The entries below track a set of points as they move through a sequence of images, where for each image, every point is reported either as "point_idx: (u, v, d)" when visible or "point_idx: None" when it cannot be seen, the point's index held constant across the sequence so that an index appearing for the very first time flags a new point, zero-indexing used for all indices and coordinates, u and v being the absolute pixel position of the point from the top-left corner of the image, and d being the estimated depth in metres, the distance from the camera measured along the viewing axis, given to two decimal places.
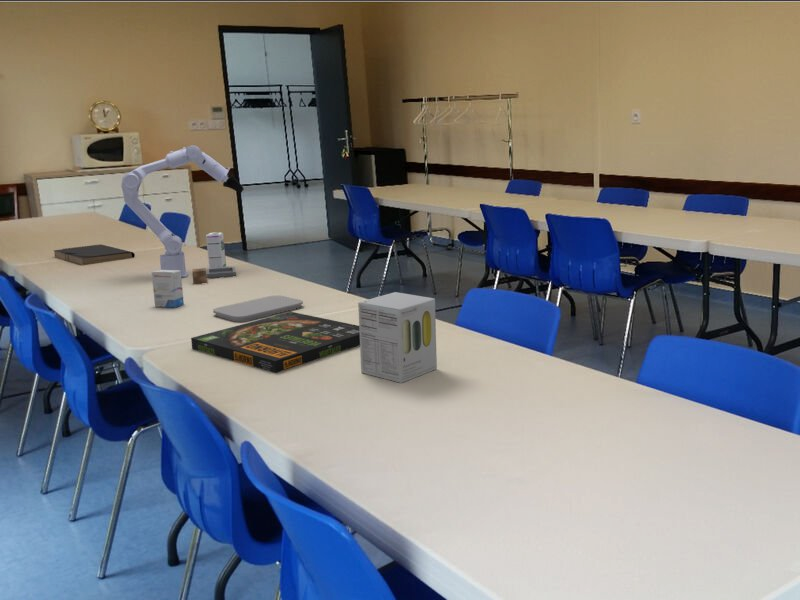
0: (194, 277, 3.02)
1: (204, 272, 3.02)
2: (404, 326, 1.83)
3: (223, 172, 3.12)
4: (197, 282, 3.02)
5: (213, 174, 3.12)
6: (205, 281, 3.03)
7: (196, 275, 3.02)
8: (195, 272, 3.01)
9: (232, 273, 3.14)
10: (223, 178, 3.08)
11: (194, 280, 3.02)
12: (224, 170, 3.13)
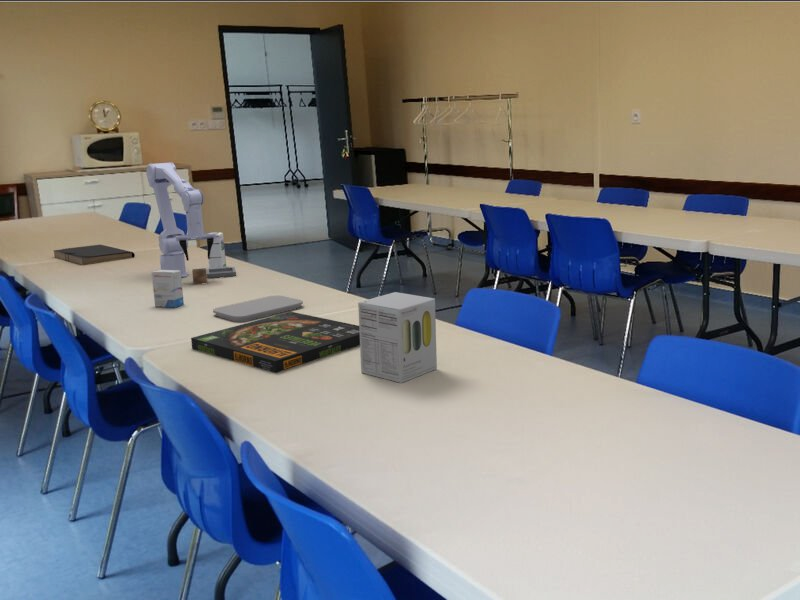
0: (194, 277, 3.02)
1: (204, 272, 3.02)
2: (404, 326, 1.83)
3: (188, 234, 2.99)
4: (197, 282, 3.02)
5: None
6: (205, 281, 3.03)
7: (196, 275, 3.02)
8: (195, 272, 3.01)
9: (232, 273, 3.14)
10: (175, 237, 3.00)
11: (194, 280, 3.02)
12: (190, 234, 2.98)
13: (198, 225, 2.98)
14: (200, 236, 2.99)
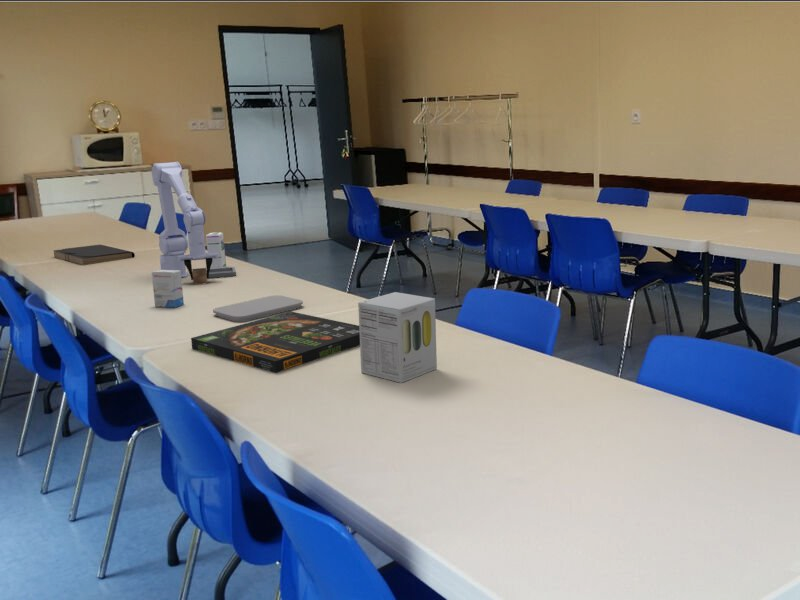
0: (194, 277, 3.02)
1: (204, 272, 3.02)
2: (404, 326, 1.83)
3: (190, 254, 3.01)
4: (197, 282, 3.02)
5: None
6: (205, 281, 3.03)
7: (196, 275, 3.02)
8: (195, 272, 3.01)
9: (232, 273, 3.14)
10: (177, 257, 3.01)
11: (194, 280, 3.02)
12: (192, 254, 3.00)
13: (200, 245, 3.00)
14: (202, 256, 3.01)
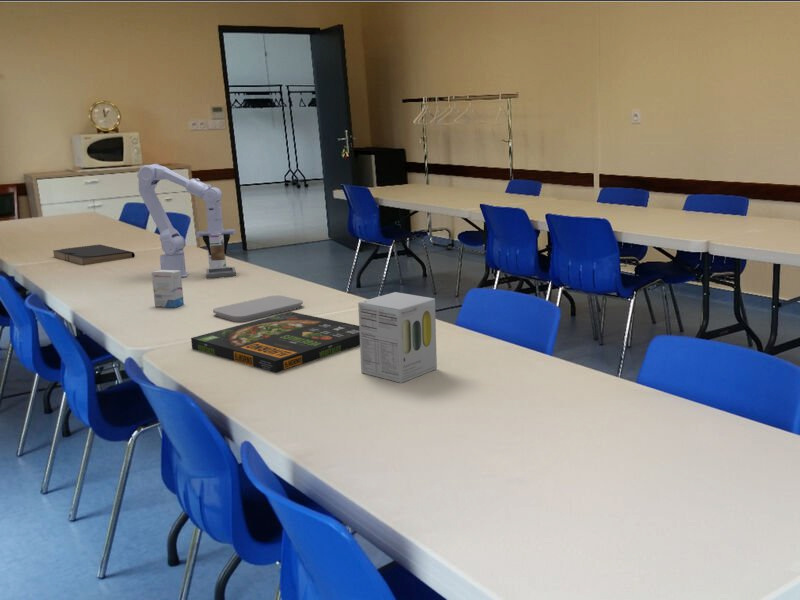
0: (212, 253, 3.12)
1: (222, 248, 3.12)
2: (404, 326, 1.83)
3: (208, 230, 3.11)
4: (215, 258, 3.12)
5: None
6: (222, 257, 3.13)
7: (214, 251, 3.12)
8: (213, 248, 3.12)
9: (232, 273, 3.14)
10: None
11: (212, 256, 3.12)
12: (210, 230, 3.11)
13: (218, 221, 3.10)
14: (220, 232, 3.11)
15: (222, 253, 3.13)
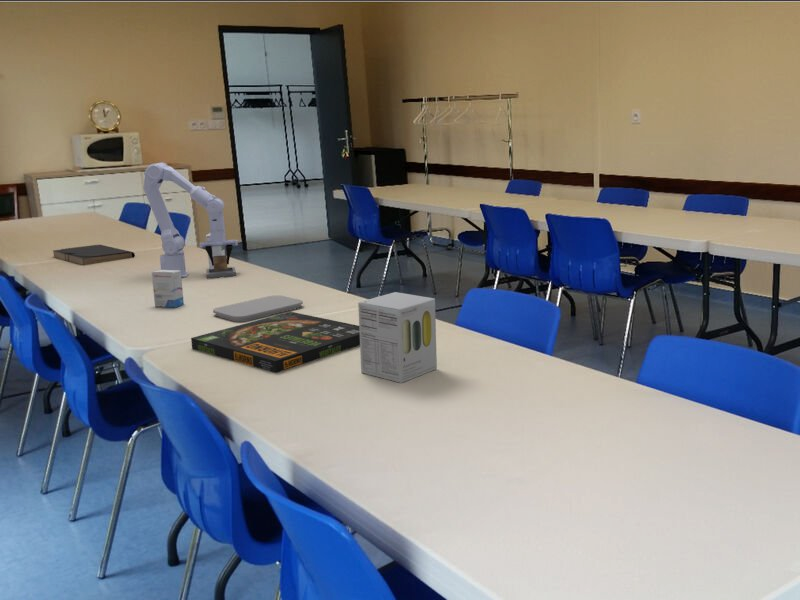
0: (215, 264, 3.14)
1: (224, 259, 3.14)
2: (404, 326, 1.83)
3: (211, 240, 3.13)
4: (218, 268, 3.15)
5: None
6: (225, 268, 3.15)
7: (217, 262, 3.14)
8: (216, 259, 3.14)
9: (232, 273, 3.14)
10: (199, 243, 3.14)
11: (215, 266, 3.14)
12: (213, 240, 3.13)
13: (221, 232, 3.12)
14: (222, 242, 3.13)
15: (225, 263, 3.15)
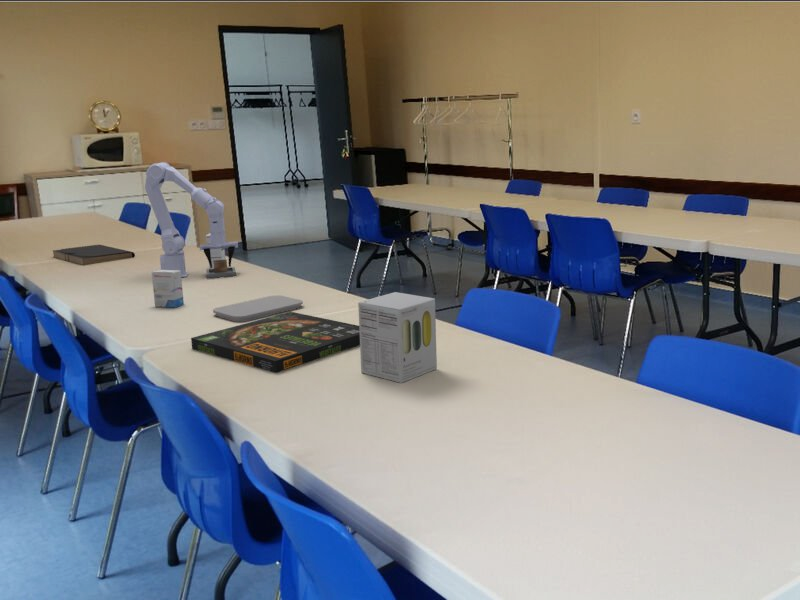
0: (215, 268, 3.14)
1: (225, 263, 3.15)
2: (404, 326, 1.83)
3: (211, 243, 3.14)
4: None
5: None
6: None
7: (217, 266, 3.14)
8: (216, 263, 3.14)
9: (232, 273, 3.14)
10: None
11: (215, 271, 3.15)
12: (213, 243, 3.13)
13: (221, 234, 3.12)
14: (223, 245, 3.13)
15: (225, 268, 3.15)
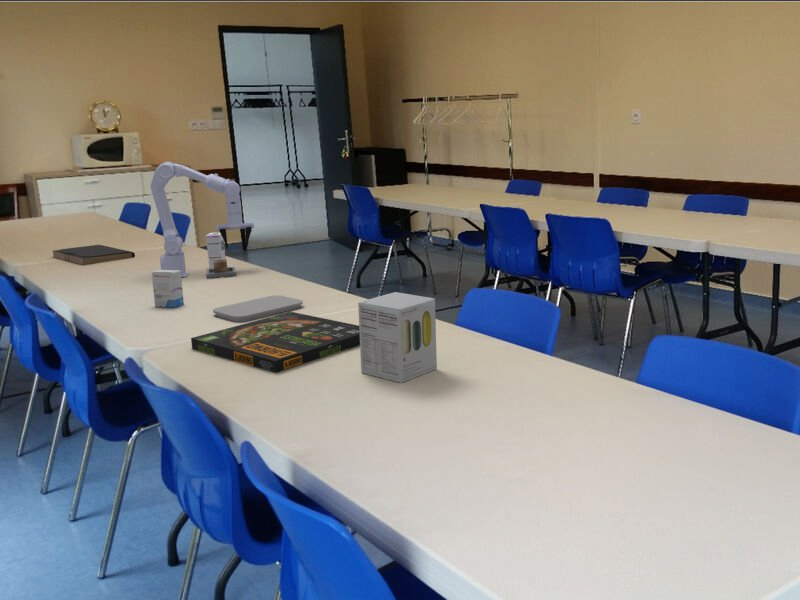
0: (215, 268, 3.14)
1: (225, 263, 3.15)
2: (404, 326, 1.83)
3: (228, 223, 3.16)
4: None
5: None
6: None
7: (217, 266, 3.14)
8: (216, 263, 3.14)
9: (232, 273, 3.14)
10: (216, 226, 3.17)
11: (215, 271, 3.15)
12: (230, 223, 3.16)
13: (237, 215, 3.15)
14: (239, 225, 3.16)
15: (225, 268, 3.15)
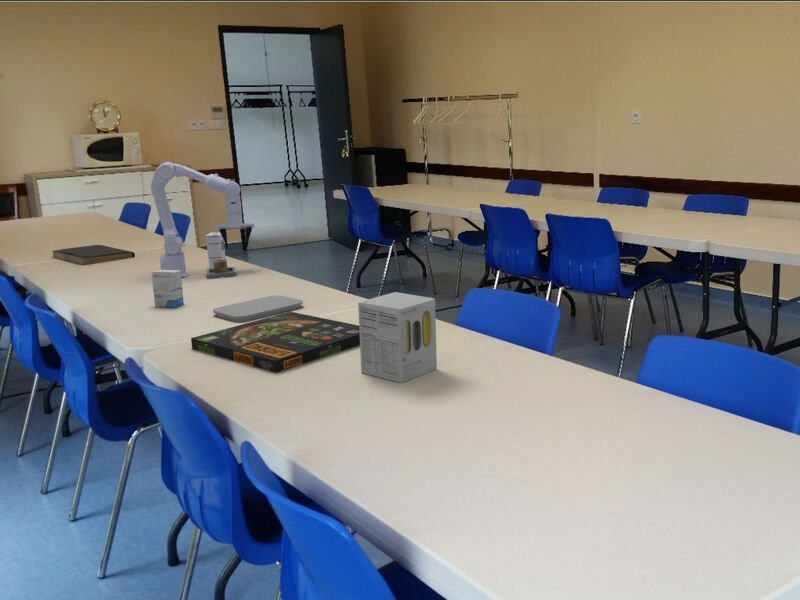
0: (215, 268, 3.14)
1: (225, 263, 3.15)
2: (404, 326, 1.83)
3: (228, 223, 3.16)
4: None
5: None
6: None
7: (217, 266, 3.14)
8: (216, 263, 3.14)
9: (232, 273, 3.14)
10: (216, 226, 3.17)
11: (215, 271, 3.15)
12: (230, 223, 3.16)
13: (237, 215, 3.15)
14: (239, 225, 3.16)
15: (225, 268, 3.15)
